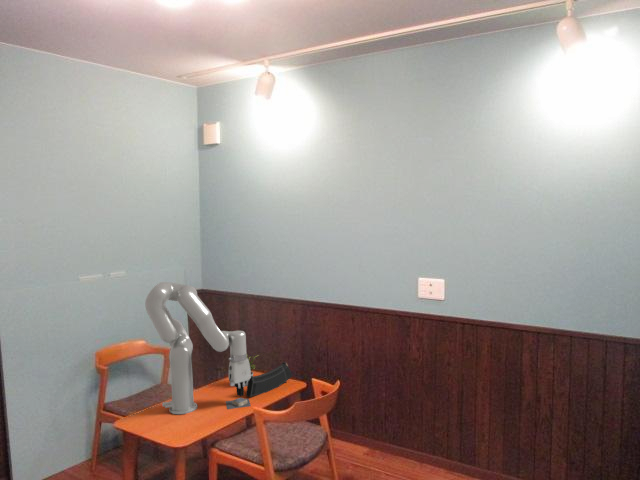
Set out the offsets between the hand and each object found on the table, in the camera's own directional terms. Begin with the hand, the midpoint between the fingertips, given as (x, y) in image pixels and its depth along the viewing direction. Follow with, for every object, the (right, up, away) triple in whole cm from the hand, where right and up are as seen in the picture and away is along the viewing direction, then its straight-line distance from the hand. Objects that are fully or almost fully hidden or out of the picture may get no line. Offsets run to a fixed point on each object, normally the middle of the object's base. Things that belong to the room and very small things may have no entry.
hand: (240, 395), depth 233 cm
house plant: (0, -3, +27) cm, 27 cm away
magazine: (+12, -3, +19) cm, 22 cm away
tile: (-2, -3, -2) cm, 4 cm away
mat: (-1, -4, 0) cm, 4 cm away
